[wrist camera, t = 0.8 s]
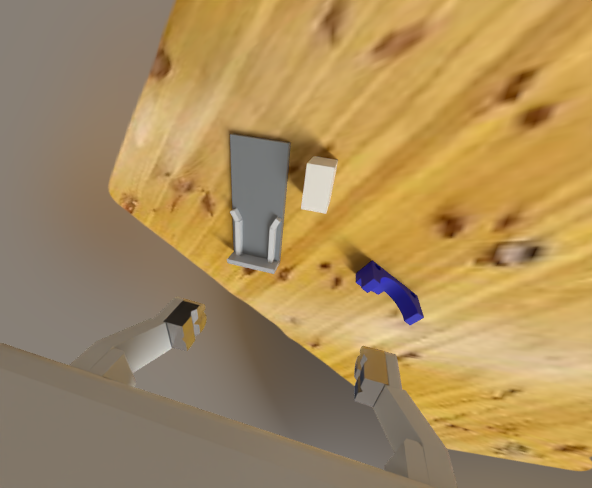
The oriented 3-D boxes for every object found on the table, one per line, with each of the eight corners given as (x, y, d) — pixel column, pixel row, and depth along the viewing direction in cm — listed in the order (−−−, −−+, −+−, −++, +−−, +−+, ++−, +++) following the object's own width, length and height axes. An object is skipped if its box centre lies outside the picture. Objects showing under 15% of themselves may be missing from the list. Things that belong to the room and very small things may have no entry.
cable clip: (355, 273, 48) (355, 292, 43) (372, 259, 46) (373, 278, 41) (399, 306, 50) (403, 329, 44) (416, 295, 47) (423, 317, 42)
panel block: (313, 155, 39) (306, 163, 34) (338, 159, 38) (334, 167, 33) (308, 196, 42) (301, 208, 37) (330, 200, 42) (326, 213, 37)
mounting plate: (233, 133, 40) (221, 136, 36) (290, 142, 38) (283, 146, 35) (236, 252, 52) (227, 262, 49) (279, 262, 51) (274, 273, 47)
